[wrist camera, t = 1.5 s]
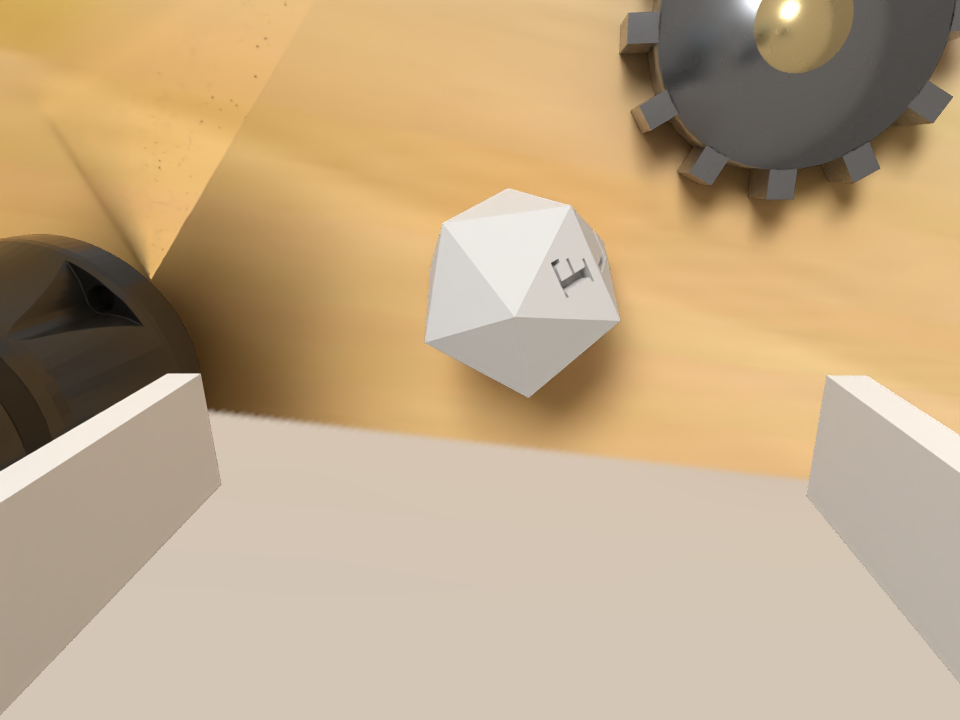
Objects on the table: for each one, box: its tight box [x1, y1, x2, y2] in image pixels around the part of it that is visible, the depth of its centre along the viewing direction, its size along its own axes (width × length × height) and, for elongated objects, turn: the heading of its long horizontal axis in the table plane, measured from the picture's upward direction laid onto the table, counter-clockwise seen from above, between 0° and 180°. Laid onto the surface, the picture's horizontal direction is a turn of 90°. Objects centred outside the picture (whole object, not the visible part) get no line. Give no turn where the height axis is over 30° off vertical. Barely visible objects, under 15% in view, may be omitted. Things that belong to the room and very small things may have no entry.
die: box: [425, 188, 620, 398], centre depth 27 cm, size 8×9×10 cm
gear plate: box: [619, 0, 960, 200], centre depth 26 cm, size 15×15×2 cm
